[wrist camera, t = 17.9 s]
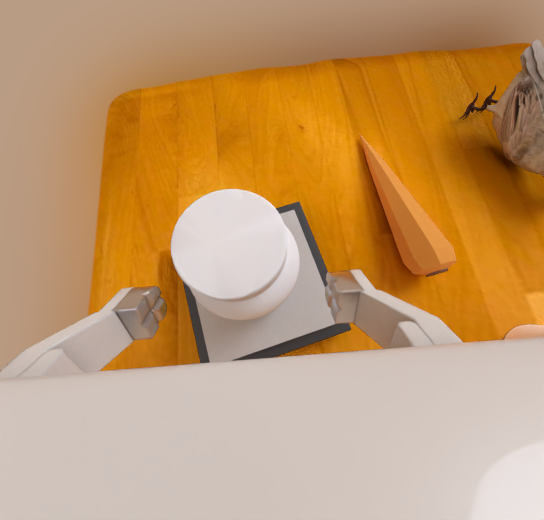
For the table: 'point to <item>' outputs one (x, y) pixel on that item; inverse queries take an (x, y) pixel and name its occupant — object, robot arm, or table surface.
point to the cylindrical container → (525, 331)
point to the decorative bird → (521, 113)
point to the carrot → (409, 221)
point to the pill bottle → (235, 254)
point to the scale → (280, 322)
